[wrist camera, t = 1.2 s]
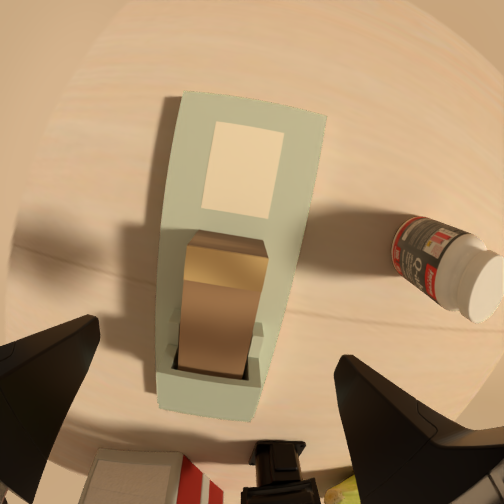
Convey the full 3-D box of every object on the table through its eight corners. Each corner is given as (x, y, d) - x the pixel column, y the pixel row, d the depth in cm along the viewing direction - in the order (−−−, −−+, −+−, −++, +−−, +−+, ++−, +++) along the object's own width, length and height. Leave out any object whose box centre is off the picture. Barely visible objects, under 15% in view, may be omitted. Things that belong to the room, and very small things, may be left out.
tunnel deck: (252, 407, 26) (255, 458, 19) (160, 393, 25) (145, 442, 18) (321, 119, 18) (357, 98, 11) (187, 96, 17) (163, 63, 11)
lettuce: (360, 449, 30) (381, 507, 19) (412, 462, 35) (430, 500, 24) (298, 482, 33) (307, 535, 22) (364, 490, 38) (376, 528, 26)
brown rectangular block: (236, 372, 22) (235, 407, 18) (185, 364, 22) (176, 398, 18) (263, 240, 19) (268, 259, 15) (198, 229, 18) (186, 245, 14)
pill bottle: (377, 248, 21) (451, 299, 12) (417, 201, 20) (502, 226, 10) (408, 288, 22) (473, 343, 13) (444, 245, 21) (517, 282, 12)
